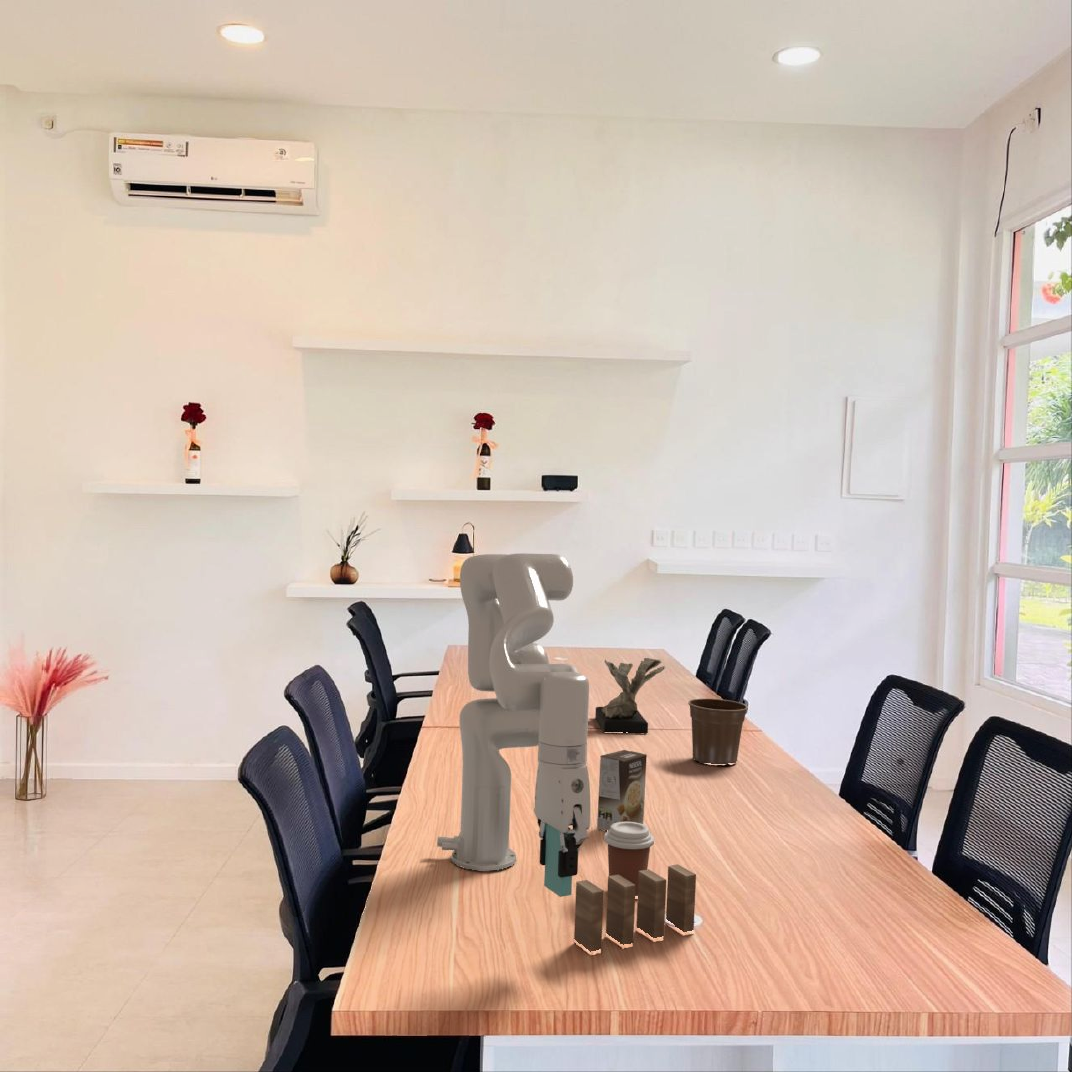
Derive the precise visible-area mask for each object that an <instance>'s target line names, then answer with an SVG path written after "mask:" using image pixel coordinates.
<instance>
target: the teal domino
mask: <svg viewBox="0 0 1072 1072" xmlns="http://www.w3.org/2000/svg"><path fill="white" fill-rule="evenodd" d="M568 829H572V828H571V827H570V826H568ZM571 837H573V834H567V841H568V840H569V839H570V838H571ZM559 851H561V841H560V831H559V830H557V829H555V828H553V827H552V826H550V825H548V824H547V826H546V854H545V865H544V875H543V876H544V883H543V886H544V887H545V888H546V889H548V890H549V891H551V893H552V892H553V893H554V894H555V895H557V897H559V898H562V897H566V896H571V895H572V889H573V888H572V887H573V886H572V885H573V876H569V877H563V878H561V877H559V876H558V854H559Z"/></svg>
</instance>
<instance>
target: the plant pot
mask: <svg viewBox="0 0 1072 1072" xmlns="http://www.w3.org/2000/svg"><path fill="white" fill-rule="evenodd" d="M687 704H688V706H689V715H690V716H689V717H690V718H691V738H692V739H691V740H692V741H691V743H692V760H693V759H695V760H696V761H698V763H700V762H701V763H711V764H728V763H735V762H736V761H737V762H738V756H739V748H740V742H741V736H742V729H743V724H744V722H745V720H746V713H747V710H748V709H749V707H748V705H746V704H745V703H742V702H738V701H734V700H729V699H722V698H721V699H720V698H695V699H694V698H693V699H690V700H688V703H687ZM696 761H695V762H696ZM701 763H700V764H701Z"/></svg>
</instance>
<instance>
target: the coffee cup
mask: <svg viewBox="0 0 1072 1072" xmlns="http://www.w3.org/2000/svg"><path fill="white" fill-rule="evenodd" d="M603 841H604V842H605V843H606V844H607V860H608V876H613V875H620V876H622V877H623V878H625V879H626V880H628V881H630V882H631V883H633V884H635V885H636V889H635V896H638V875H639V871H642V870H648V866H649V860H650V858H649V857H650V853H651V852H650V851H651V847H652V846H653V845H655V837H654V835H652V834H651V833H650V829H649V827H648V826H647V825H645V824H644V823H643V824H640V823H636V822H617V823H614V824H612V825H611V826H610V830H609V831H608V832H606V831H605V833H604V839H603Z"/></svg>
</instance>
